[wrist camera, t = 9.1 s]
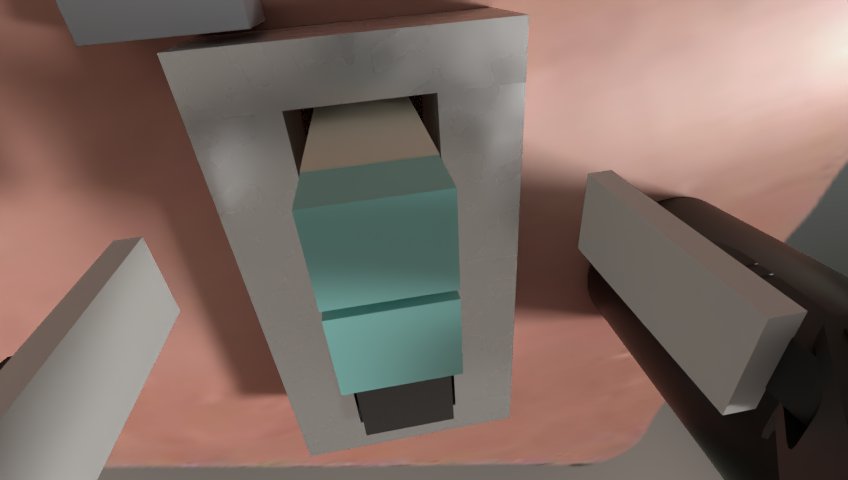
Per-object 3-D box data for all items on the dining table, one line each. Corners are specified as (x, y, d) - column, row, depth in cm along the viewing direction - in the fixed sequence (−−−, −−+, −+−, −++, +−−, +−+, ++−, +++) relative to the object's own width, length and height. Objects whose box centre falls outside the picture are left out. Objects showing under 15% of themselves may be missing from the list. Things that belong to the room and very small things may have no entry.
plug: (317, 95, 17) (291, 208, 9) (402, 86, 18) (457, 185, 9) (342, 223, 20) (341, 396, 12) (414, 213, 21) (463, 375, 12)
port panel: (197, 36, 15) (142, 58, 11) (491, 7, 16) (541, 17, 12) (314, 394, 26) (309, 474, 22) (488, 363, 27) (515, 433, 23)
